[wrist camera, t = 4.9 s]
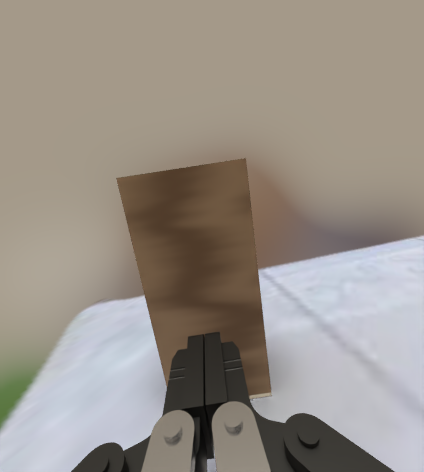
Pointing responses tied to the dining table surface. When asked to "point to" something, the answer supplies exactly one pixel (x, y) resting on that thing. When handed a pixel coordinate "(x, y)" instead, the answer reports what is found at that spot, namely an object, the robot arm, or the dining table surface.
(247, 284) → the walnut block
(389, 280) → the dining table surface
